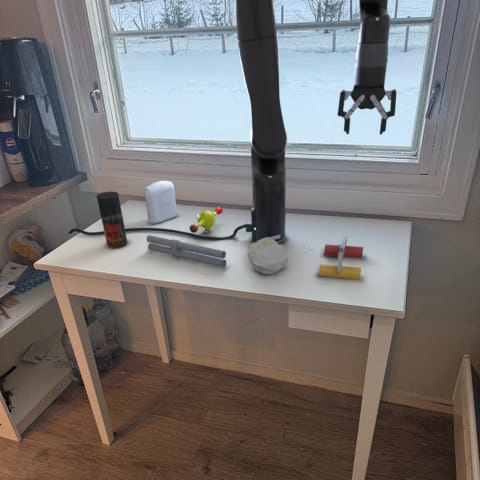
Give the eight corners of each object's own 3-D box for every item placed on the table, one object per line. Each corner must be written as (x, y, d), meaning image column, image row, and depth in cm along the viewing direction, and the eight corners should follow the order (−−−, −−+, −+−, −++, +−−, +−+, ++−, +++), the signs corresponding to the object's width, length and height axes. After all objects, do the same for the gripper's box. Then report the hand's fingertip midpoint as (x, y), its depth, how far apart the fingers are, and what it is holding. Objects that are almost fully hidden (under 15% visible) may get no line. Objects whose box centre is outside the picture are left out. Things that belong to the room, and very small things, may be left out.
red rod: (323, 257, 126) (324, 247, 125) (325, 252, 129) (325, 242, 127) (361, 260, 124) (363, 249, 122) (362, 255, 126) (363, 245, 125)
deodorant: (103, 245, 140) (92, 195, 131) (120, 238, 143) (110, 190, 135) (114, 250, 136) (104, 200, 128) (131, 243, 140) (122, 194, 131)
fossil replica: (294, 262, 125) (258, 261, 128) (293, 232, 121) (256, 232, 124) (283, 280, 115) (245, 279, 118) (281, 248, 111) (241, 247, 114)
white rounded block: (171, 213, 159) (167, 176, 152) (179, 216, 157) (175, 179, 150) (146, 222, 153) (140, 184, 147) (154, 225, 151) (148, 187, 144)
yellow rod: (318, 278, 117) (319, 267, 115) (319, 272, 119) (320, 262, 118) (359, 281, 114) (360, 270, 113) (360, 276, 117) (361, 265, 115)
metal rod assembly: (227, 265, 125) (226, 248, 122) (222, 270, 123) (220, 252, 120) (152, 248, 136) (149, 232, 133) (146, 252, 134) (143, 235, 131)
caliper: (341, 274, 112) (343, 250, 108) (336, 274, 112) (338, 250, 109) (347, 239, 128) (348, 217, 125) (343, 239, 128) (344, 217, 125)
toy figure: (213, 220, 152) (211, 200, 148) (228, 222, 150) (227, 202, 146) (184, 242, 139) (181, 220, 135) (200, 244, 137) (198, 222, 133)
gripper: (401, 61, 116) (392, 130, 124) (342, 63, 119) (337, 130, 128) (401, 64, 110) (392, 137, 118) (339, 66, 113) (335, 136, 122)
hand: (364, 133), depth 123 cm, fingers open, 8 cm apart
